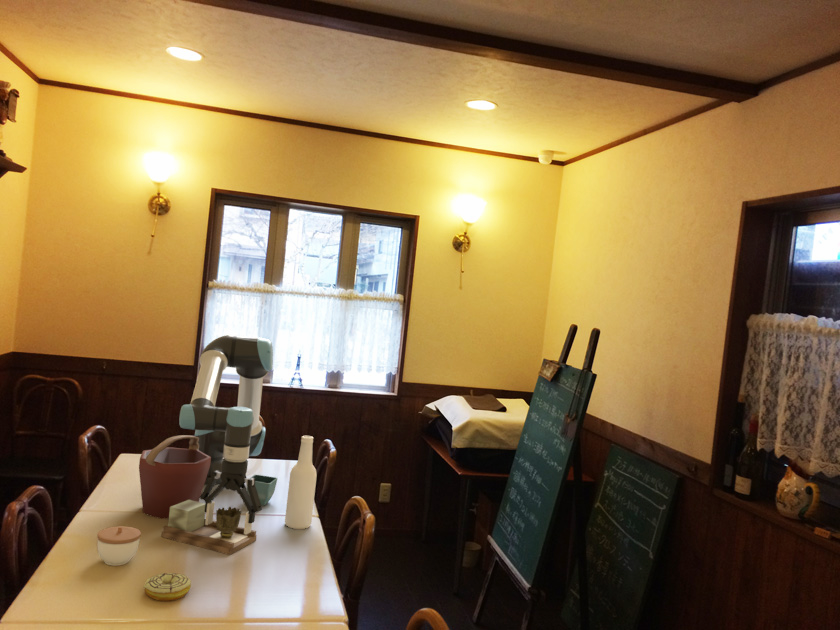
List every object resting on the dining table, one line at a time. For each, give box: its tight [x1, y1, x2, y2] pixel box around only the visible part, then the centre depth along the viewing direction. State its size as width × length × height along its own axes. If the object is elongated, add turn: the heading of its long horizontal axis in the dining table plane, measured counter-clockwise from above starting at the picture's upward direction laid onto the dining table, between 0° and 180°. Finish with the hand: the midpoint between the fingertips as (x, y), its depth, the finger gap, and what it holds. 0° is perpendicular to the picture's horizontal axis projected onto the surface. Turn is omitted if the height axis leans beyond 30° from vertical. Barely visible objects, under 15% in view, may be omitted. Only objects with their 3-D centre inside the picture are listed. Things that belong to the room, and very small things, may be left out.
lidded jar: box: [96, 525, 142, 567], centre depth 181 cm, size 11×11×9 cm
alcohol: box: [284, 435, 317, 530], centre depth 225 cm, size 9×9×30 cm
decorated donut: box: [143, 572, 192, 602], centre depth 167 cm, size 10×11×4 cm
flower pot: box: [246, 474, 278, 507], centre depth 243 cm, size 9×9×9 cm
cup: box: [215, 506, 242, 538], centre depth 203 cm, size 8×7×8 cm
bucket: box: [138, 434, 211, 519], centre depth 225 cm, size 24×22×25 cm
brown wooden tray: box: [161, 500, 257, 556], centre depth 205 cm, size 24×14×8 cm, turn 72°
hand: (227, 528), depth 203 cm, fingers open, 13 cm apart
